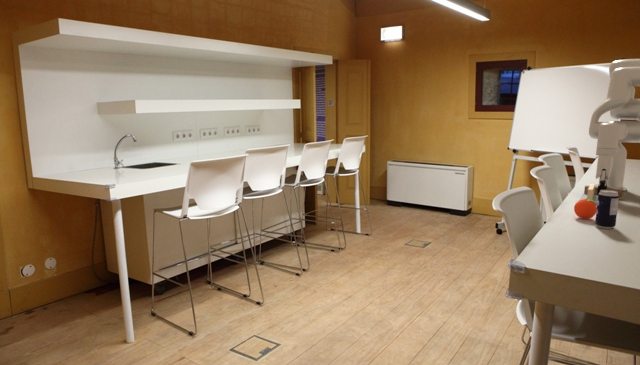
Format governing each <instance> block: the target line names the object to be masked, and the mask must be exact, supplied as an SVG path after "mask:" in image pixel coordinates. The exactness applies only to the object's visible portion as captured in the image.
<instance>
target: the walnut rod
mask: <svg viewBox="0 0 640 365" xmlns="http://www.w3.org/2000/svg"><path fill="white" fill-rule="evenodd" d="M589 186H590V185H584V191H583V194H588V188H589ZM597 190H598V187H597V186H595V191H594V195H597ZM606 190H613V191H617V192H618V195H619V200H623V198H624V197H623V196H624V191H623V189H622V188H610V187H607V189H606Z"/></svg>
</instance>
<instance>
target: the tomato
mask: <svg viewBox="0 0 640 365" xmlns="http://www.w3.org/2000/svg"><path fill="white" fill-rule="evenodd" d="M579 200H580V199H579ZM579 200H578V201H577V202H575V205H574V206H573V210H574V214H575V215H576V216H577V217H578V218H580V219H583V220H589V219H591V218H593V217H594V216H596V211H597V206H596V205H595V203H594V202H595V201H593V200H588V199H582V200H580V201H579ZM596 203H597V202H596Z"/></svg>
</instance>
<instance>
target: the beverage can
mask: <svg viewBox="0 0 640 365" xmlns="http://www.w3.org/2000/svg"><path fill="white" fill-rule="evenodd" d="M619 200H620V199H619V195H618V192H617V191H613V190H600V193H599V194H598V201H597V206H596V207H597V211H596V214H595V222H594V224H595V225H596V226H597V227H598V228H600V229H604V230H610V229H611V230H612V229H613V228H615V227H616V224H617V216H618V205H619Z"/></svg>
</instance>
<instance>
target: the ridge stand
mask: <svg viewBox="0 0 640 365" xmlns="http://www.w3.org/2000/svg"><path fill="white" fill-rule="evenodd" d="M595 185H596V183H590V184H589V185H588V186H589V188H588V194H584V193H582V194H581V196H580V199H579V200H578V201H580V200H582V199H588V200H593V201H595V202H594V203H595V205H596V207H597V203H596V202H597V201H598V195H594V191H595Z"/></svg>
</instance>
